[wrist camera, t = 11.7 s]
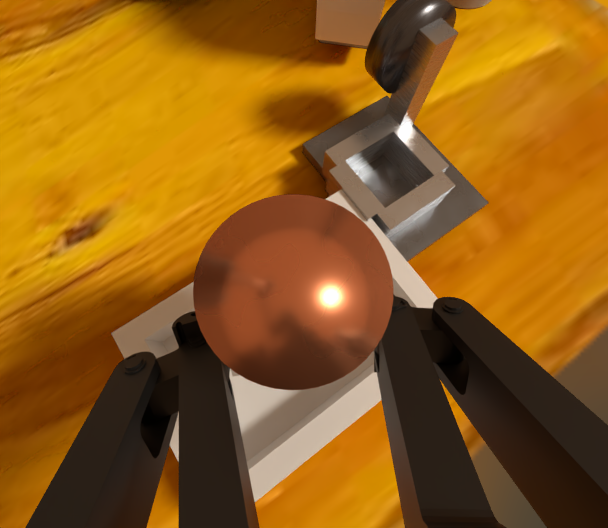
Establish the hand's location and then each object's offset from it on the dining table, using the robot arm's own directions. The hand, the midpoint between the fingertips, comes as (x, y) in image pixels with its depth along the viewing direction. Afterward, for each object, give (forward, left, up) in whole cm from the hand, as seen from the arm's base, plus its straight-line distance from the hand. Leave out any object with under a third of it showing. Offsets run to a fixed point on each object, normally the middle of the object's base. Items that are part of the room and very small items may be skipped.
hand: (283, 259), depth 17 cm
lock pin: (-2, -3, -5) cm, 6 cm away
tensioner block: (+14, +3, -9) cm, 17 cm away
